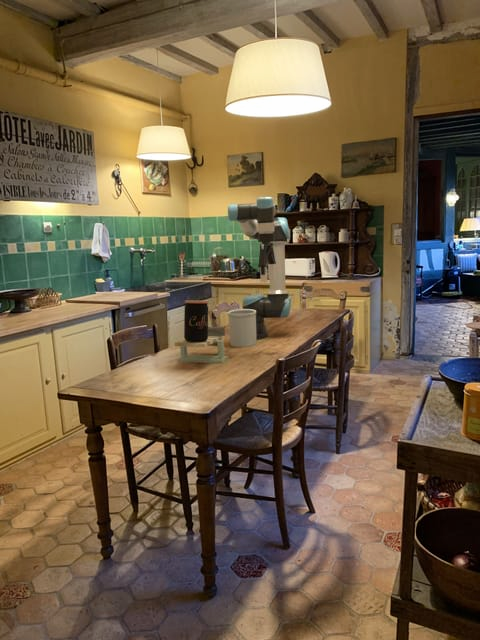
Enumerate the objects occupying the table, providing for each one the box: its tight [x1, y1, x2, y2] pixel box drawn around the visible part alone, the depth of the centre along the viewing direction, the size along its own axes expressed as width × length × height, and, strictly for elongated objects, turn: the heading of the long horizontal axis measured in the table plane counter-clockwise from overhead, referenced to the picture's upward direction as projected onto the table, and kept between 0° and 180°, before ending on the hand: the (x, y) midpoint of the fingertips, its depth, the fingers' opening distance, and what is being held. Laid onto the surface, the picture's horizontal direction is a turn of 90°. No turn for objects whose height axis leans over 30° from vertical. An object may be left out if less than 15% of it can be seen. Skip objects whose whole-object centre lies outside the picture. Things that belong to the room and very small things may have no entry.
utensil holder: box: [227, 308, 257, 348], centre depth 258 cm, size 15×15×18 cm
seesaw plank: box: [174, 326, 226, 348], centre depth 231 cm, size 27×16×7 cm, turn 162°
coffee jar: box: [183, 300, 209, 342], centre depth 223 cm, size 11×11×18 cm
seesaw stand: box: [177, 338, 228, 364], centre depth 233 cm, size 8×22×10 cm, turn 72°
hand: (267, 280), depth 225 cm, fingers open, 13 cm apart
